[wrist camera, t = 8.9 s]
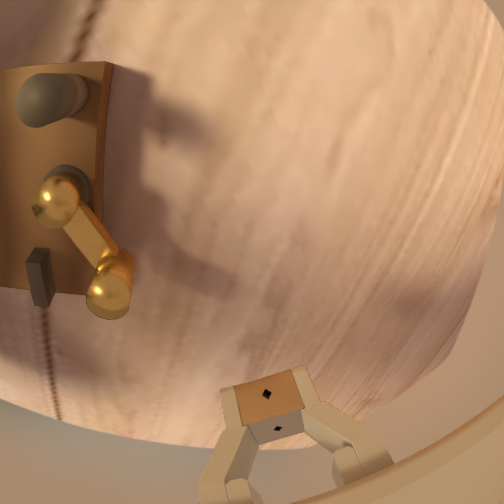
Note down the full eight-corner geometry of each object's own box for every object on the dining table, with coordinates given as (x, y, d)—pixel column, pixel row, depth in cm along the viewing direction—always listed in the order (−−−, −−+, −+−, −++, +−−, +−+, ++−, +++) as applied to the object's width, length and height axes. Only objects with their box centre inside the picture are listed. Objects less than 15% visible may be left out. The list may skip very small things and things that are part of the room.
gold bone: (36, 187, 16) (8, 214, 12) (67, 162, 16) (41, 184, 12) (113, 286, 21) (104, 326, 17) (144, 268, 20) (139, 307, 17)
